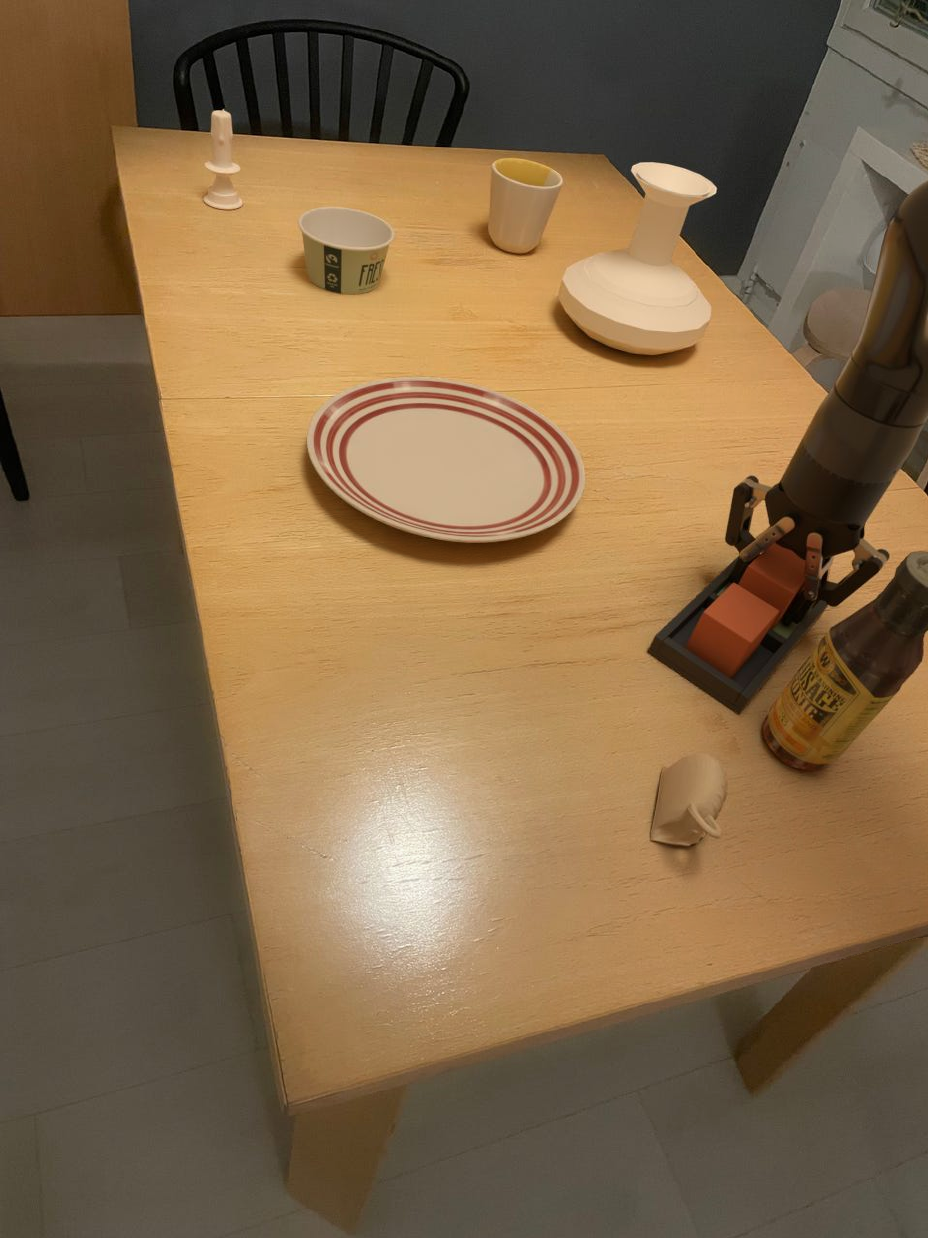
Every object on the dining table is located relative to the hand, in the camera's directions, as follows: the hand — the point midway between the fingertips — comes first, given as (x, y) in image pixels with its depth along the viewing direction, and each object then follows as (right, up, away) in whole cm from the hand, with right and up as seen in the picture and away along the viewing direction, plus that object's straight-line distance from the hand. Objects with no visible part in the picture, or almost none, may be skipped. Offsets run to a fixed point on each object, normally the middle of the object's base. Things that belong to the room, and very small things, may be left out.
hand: (763, 603), depth 80 cm
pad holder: (-3, -3, -2) cm, 4 cm away
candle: (-61, +57, +43) cm, 94 cm away
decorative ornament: (-12, -16, -17) cm, 26 cm away
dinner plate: (-29, +13, +7) cm, 33 cm away
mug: (-20, +55, +51) cm, 78 cm away
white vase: (-6, +37, +37) cm, 52 cm away
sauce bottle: (-1, -12, -10) cm, 15 cm away
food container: (-43, +43, +33) cm, 69 cm away
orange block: (0, 0, 0) cm, 0 cm away
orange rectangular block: (-5, -4, -5) cm, 8 cm away
